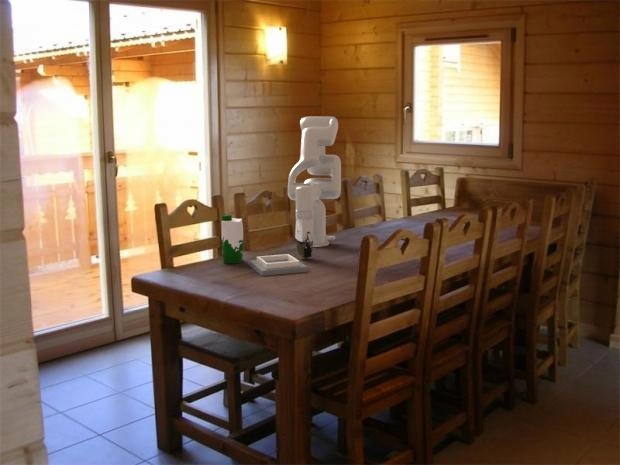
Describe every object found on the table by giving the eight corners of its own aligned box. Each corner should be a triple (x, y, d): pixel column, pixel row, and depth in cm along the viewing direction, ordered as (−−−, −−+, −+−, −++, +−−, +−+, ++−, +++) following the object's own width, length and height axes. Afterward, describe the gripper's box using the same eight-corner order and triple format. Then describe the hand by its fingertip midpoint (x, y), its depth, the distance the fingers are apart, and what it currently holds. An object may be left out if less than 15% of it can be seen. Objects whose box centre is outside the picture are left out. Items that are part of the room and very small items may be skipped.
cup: (293, 260, 310) (292, 241, 308) (301, 256, 316) (301, 238, 315) (308, 261, 307) (308, 243, 305) (316, 258, 313) (316, 240, 311)
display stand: (292, 261, 307) (292, 252, 306) (307, 271, 289) (307, 261, 289) (249, 265, 301) (248, 255, 300) (261, 275, 283) (261, 265, 282)
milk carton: (223, 259, 312) (222, 213, 309) (244, 259, 312) (243, 213, 308) (221, 263, 304) (219, 216, 300) (242, 263, 304) (241, 216, 300)
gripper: (289, 212, 315) (290, 252, 318) (302, 218, 299) (303, 260, 302) (305, 211, 317) (306, 250, 320) (319, 217, 301) (319, 258, 304)
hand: (304, 255), depth 311 cm, fingers closed on cup, 6 cm apart
